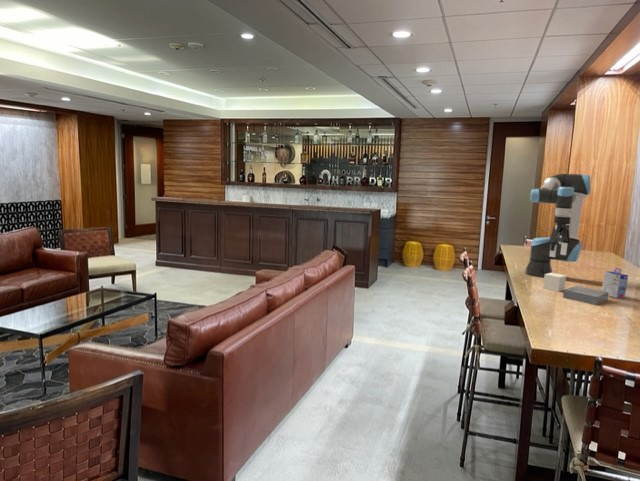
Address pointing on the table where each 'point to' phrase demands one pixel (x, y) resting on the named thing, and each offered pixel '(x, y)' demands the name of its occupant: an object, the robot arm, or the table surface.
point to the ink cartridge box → (615, 283)
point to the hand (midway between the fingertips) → (557, 255)
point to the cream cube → (554, 282)
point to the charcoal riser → (585, 295)
